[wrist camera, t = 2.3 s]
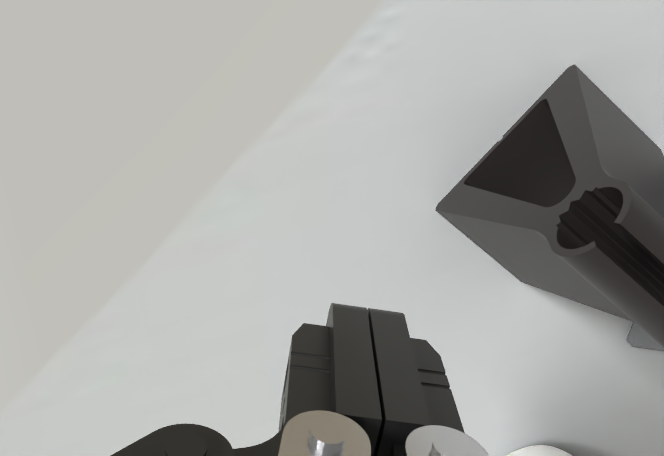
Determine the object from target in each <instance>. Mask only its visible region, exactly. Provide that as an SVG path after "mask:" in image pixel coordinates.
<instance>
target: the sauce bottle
mask: <svg viewBox="0 0 664 456" xmlns="http://www.w3.org/2000/svg"><path fill="white" fill-rule="evenodd" d="M507 456H572V455H571V454H569V453H567V452H565V451H563V450H561V449H558V448H555V447H552V446H546V445H533V446H529V447H524V448H521V449H519V450H516V451H514V452H512V453H510V454H509V455H507Z"/></svg>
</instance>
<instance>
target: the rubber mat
mask: <svg viewBox="0 0 664 456" xmlns="http://www.w3.org/2000/svg"><path fill="white" fill-rule="evenodd" d="M627 341H628V343H629V344H630V345H631V346H633V347H640V348H647V349H654V350H661V351H664V347H663V346H662V345H660V344H659V343H658V342H657V341H656V340H655V339H653V338H652V337H651V336H650V335H649V334H648V333H647V332H645V331H644V330H643V329H642V328H641V327H640V326H638V325H637V324H636V323H635V322H634V323H633V325H632V328H631V330H630V333H629V335H628V338H627Z"/></svg>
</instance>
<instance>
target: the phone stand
mask: <svg viewBox="0 0 664 456" xmlns="http://www.w3.org/2000/svg"><path fill="white" fill-rule="evenodd" d="M436 211H437V212H438V213H440V214H441V215H442V216H443V217H444V218H446V219H447V220H448V221H449V222H450V223H452V224H453V225H454V226H455V227H456V228H458V229H459V230H460V231H461V232H462V233H464V234H465V235H466V236H467V237H468V238H470V239H471V240H472V241H473V242H474V243H476V244H477V245H478V246H479V247H480V248H482V249H483V250H484V251H485V252H486V253H488V254H489V255H490V256H491V257H492V258H494V259H495V260H496V261H497V262H498V263H500V264H501V265H502V266H503V267H504V268H506V269H507V270H508V271H509V272H510V273H511V274H513V275H514V276H515V277H516V278H517V279H519V280H520V281H521V282H524V283H526V284H529V285H532V286H535V287H538V288H540V289H543V290H546V291H549V292H552V293H554V294H557V295H560V296H563V297H566V298H568V299H571V300H574V301H577V302H580V303H582V304H585V305H588V306H591V307H594V308H596V309H599V310H602V311H605V312H608V313H610V314H613V315H616V316H619V317H622V318H624V319H627V320H630V321H633V322H635V323H636V324H637V325H638V326H640V327H641V328H642V329H643V330H644V331H645V332H647V333H648V334H649V335H650V336H651V337H652V338H653V339H655V340H656V341H657V342H658V343H659V344H660V345H662V346H663V347H664V156H663V154H662V151H661V149H660V148H659V147H658V146H657V145H656V144H655V143H654V142H653V141H652V140H651V139H650V138H649V137H648V136H647V135H646V134H645V133H644V132H643V131H642V130H641V129H640V128H638V127H637V126H636V125H635V124H634V123H633V122H632V121H631V120H630V119H629V118H628V117H627V116H626V115H625V114H624V113H623V112H622V111H621V110H620V109H619V108H618V107H617V106H616V105H615V104H614V103H613V102H612V101H611V100H610V99H609V98H608V97H607V96H606V95H605V94H604V93H603V92H602V91H601V90H600V89H599V88H598V87H597V86H596V85H595V84H594V83H593V82H592V81H591V80H590V79H589V78H588V77H587V76H586V75H585V74H584V73H583V72H582V71H581V70H580V69H579V68H578V67H577V66H576V65H572V66H570V67H569V68H568V69H566V70H565V72H564V73H563V74H562V75H561V76H560V77H559V78H558V79H557V80H556V81H555V82H554V83H553V84H552V85H551V86H550V87H549V88H548V89H547V90H546V91H545V92H544V94H543V95H542V96H541V97H540V98H539V99H538V100H537V101H536V102H535V103H534V104H533V105H532V106H531V107H530V108H529V109H528V110H527V111H526V112H525V113H524V114H523V116H522V117H521V118H520V119H519V120H518V121H517V122H516V123H515V124H514V125H513V126H512V127H511V128H510V129H509V130H508V131H507V132H506V133H505V134H504V135H503V138H502V140H501V141H499V142H497V143H496V144H495V145H494V146H493V147H492V148H491V149H490V150H489V151H488V152H487V153H486V154H485V155H484V156H483V157H482V159H481V160H480V161H479V162H478V163H477V164H476V165H475V166H474V167H473V168H472V169H471V170H470V171H469V172H468V173H467V174H466V175H465V176H464V177H463V178H462V179H461V181H460V182H459V183H458V184H457V185H456V186H455V187H454V188H453V189H452V190H451V191H450V192H449V193H448V194H447V195H446V196H445V197H444V198H443V199H442V200H441V201H440V203H439V204H438V205H437V207H436Z"/></svg>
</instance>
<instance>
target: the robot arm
mask: <svg viewBox="0 0 664 456" xmlns="http://www.w3.org/2000/svg"><path fill="white" fill-rule="evenodd" d="M449 387H450V385H449V382H448V379H447V376H446V375H445V369H444V366H443V363H442V360H441V357H440V355H439V354H438V353H437V352H436V351H435V350H434V349H433V347H432V346H431V345H430V344H429V343H428V342H427V341H426V340H421V339H414V338H410V336H409V332H408V328H407V324H406V320H405V316H404V314H403V313H398V312H391V311H384V310H377V309H370V308H368V310H367V309H366V308H363V307H356V306H349V305H342V304H335V303H331V306H330V309H329V314H328V319H327V324H326V326H320V325H313V324H306V323H304V324H303V325H302V326H301V327H300V328H299V329H298V330H297V331H296V332H295V333H294V334H293V335H292V341H291V347H290V353H289V359H288V365H287V370H286V376H285V382H284V388H283V394H282V402H281V413H280V423H279V433H277V434H276V435H275V436H274V437H273V438H271V439H270V440H268V441H266V442H264V443H262V444H259V445H255V446H251V447H246V448H238V449H232V447H231V445H230V443H229V442H228V441H227V439H226V438H225V437H224V436H222V435H221V434H220V433H218V432H217V431H215V430H213V429H210V428H208V427H205V426H201V425H195V424H176V425H170V426H167V427H163V428H161V429H158V430H156V431H154V432H152V433H151V434H149V435H147V436H145V437H143V438H142V439H140V440H138V441H136V442H134V443H132V444H131V445H129V446H127V447H125V448H123V449H122V450H120V451H118V452H116V453H114V454H113V455H111V456H489V455H488V453H487V452H486V450H485V449H484V448H483V447H482V446H481V445H480V444H479V443H478V442H477V441H476V440H474V439H473V438H472V437H470V436H468V435H467V434H465V433H464V430H463V427H462V423H461V420H460V417H459V414H458V411H457V408H456V404H455V401H454V398H453V395H452V392H451V389H449Z"/></svg>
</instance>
